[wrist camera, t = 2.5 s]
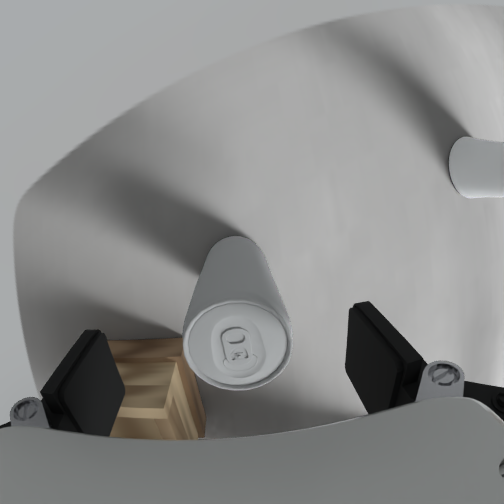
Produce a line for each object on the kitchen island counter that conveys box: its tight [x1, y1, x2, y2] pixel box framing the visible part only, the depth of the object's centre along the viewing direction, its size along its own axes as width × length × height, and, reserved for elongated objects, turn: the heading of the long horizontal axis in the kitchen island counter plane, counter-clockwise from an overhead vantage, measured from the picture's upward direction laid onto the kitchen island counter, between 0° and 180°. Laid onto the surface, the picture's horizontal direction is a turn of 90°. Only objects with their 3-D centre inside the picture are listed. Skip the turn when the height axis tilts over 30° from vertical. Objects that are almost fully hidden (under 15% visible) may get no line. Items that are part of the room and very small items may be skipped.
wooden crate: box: [107, 338, 206, 440], centre depth 22 cm, size 10×10×8 cm
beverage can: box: [182, 236, 293, 390], centre depth 18 cm, size 5×5×12 cm
